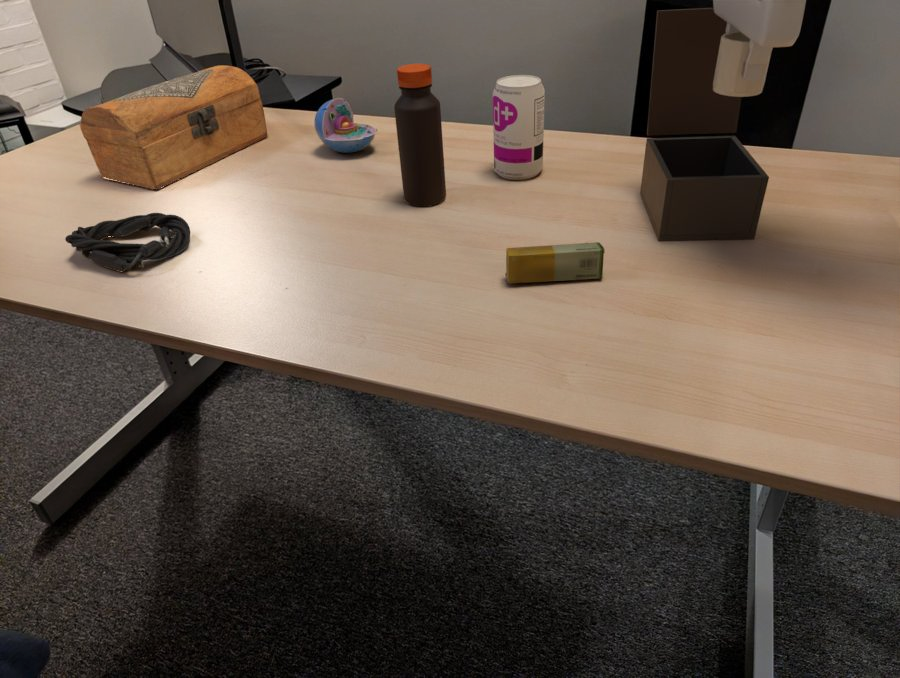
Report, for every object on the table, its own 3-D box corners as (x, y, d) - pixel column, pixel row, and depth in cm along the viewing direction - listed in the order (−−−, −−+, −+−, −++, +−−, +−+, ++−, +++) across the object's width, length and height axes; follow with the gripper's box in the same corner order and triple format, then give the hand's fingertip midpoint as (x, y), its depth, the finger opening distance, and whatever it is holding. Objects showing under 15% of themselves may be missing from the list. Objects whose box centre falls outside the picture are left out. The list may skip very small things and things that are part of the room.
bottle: (395, 199, 105) (380, 69, 93) (428, 186, 108) (417, 59, 97) (422, 211, 101) (409, 76, 89) (455, 197, 104) (447, 66, 92)
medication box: (598, 270, 84) (600, 241, 81) (603, 279, 81) (606, 249, 79) (505, 275, 83) (505, 246, 81) (507, 284, 81) (507, 254, 79)
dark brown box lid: (754, 5, 87) (752, 5, 88) (658, 10, 88) (657, 10, 89) (736, 132, 94) (734, 131, 95) (647, 135, 95) (646, 134, 96)
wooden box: (158, 193, 113) (131, 112, 105) (98, 179, 120) (68, 102, 112) (276, 137, 133) (260, 66, 125) (218, 128, 140) (200, 60, 132)
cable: (54, 259, 95) (42, 232, 92) (131, 219, 105) (122, 193, 102) (135, 281, 88) (124, 253, 85) (210, 236, 98) (202, 210, 95)
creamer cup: (753, 82, 81) (765, 30, 77) (768, 96, 76) (781, 40, 72) (707, 84, 81) (716, 32, 78) (719, 97, 76) (729, 43, 73)
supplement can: (511, 185, 107) (511, 91, 98) (485, 170, 113) (483, 80, 104) (552, 173, 110) (555, 81, 101) (524, 159, 116) (525, 71, 107)
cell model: (360, 163, 119) (353, 110, 113) (308, 156, 124) (298, 104, 118) (389, 145, 126) (383, 94, 120) (339, 138, 131) (331, 89, 125)
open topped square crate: (754, 239, 88) (769, 177, 82) (658, 241, 89) (667, 179, 84) (723, 191, 100) (735, 135, 95) (639, 193, 101) (646, 138, 96)
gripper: (839, -58, 61) (800, 95, 69) (768, -75, 77) (743, 50, 85) (769, -54, 61) (738, 97, 69) (713, -72, 78) (694, 52, 86)
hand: (741, 71), depth 77 cm, fingers closed on creamer cup, 6 cm apart
